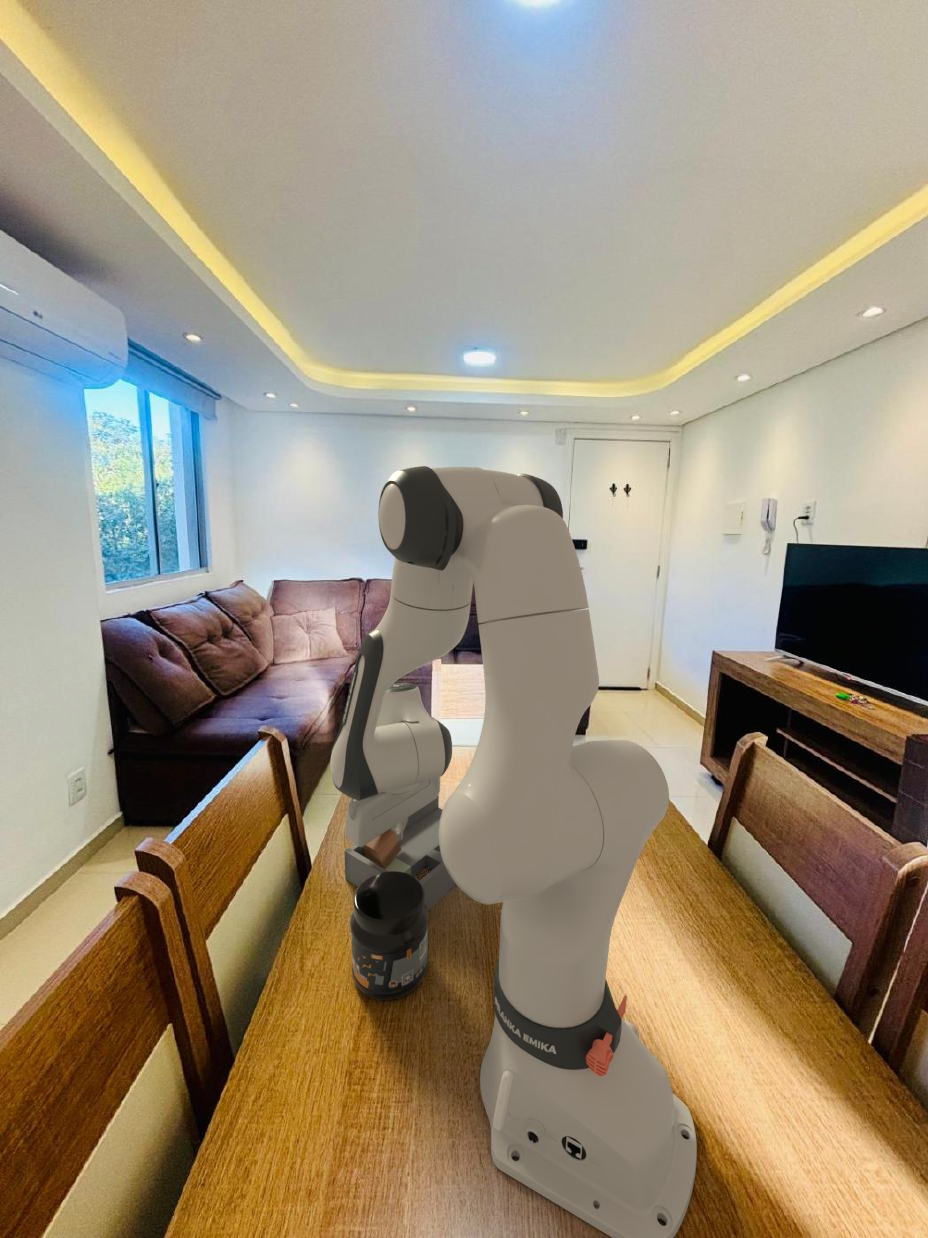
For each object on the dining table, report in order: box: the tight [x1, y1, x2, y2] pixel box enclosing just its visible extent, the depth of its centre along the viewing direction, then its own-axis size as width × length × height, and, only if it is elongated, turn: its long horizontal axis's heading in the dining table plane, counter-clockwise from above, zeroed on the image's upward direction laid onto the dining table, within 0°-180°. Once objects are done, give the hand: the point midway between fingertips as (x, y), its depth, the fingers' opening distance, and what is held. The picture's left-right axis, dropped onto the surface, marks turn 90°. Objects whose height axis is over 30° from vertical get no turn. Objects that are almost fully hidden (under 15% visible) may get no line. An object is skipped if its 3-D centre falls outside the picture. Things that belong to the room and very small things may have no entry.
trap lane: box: [344, 793, 457, 911], centre depth 92 cm, size 16×24×6 cm, turn 143°
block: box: [362, 829, 401, 869], centre depth 89 cm, size 4×4×4 cm
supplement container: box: [349, 871, 430, 1001], centre depth 69 cm, size 10×10×12 cm
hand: (395, 840), depth 92 cm, fingers closed
